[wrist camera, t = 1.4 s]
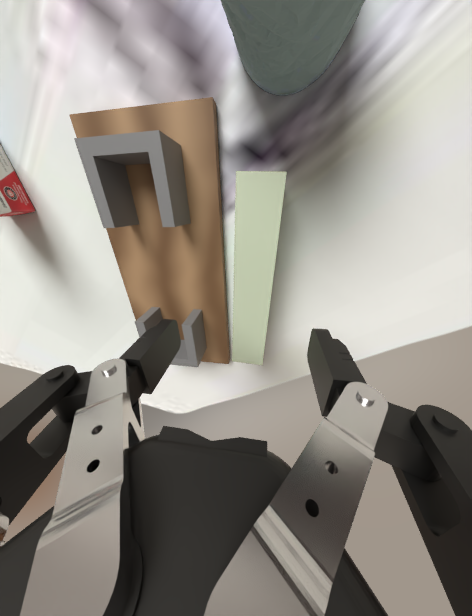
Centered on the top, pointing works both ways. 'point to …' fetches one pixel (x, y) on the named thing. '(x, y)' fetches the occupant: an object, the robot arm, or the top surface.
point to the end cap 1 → (115, 184)
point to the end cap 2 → (192, 332)
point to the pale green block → (254, 259)
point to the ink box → (12, 190)
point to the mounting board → (173, 240)
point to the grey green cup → (289, 38)
